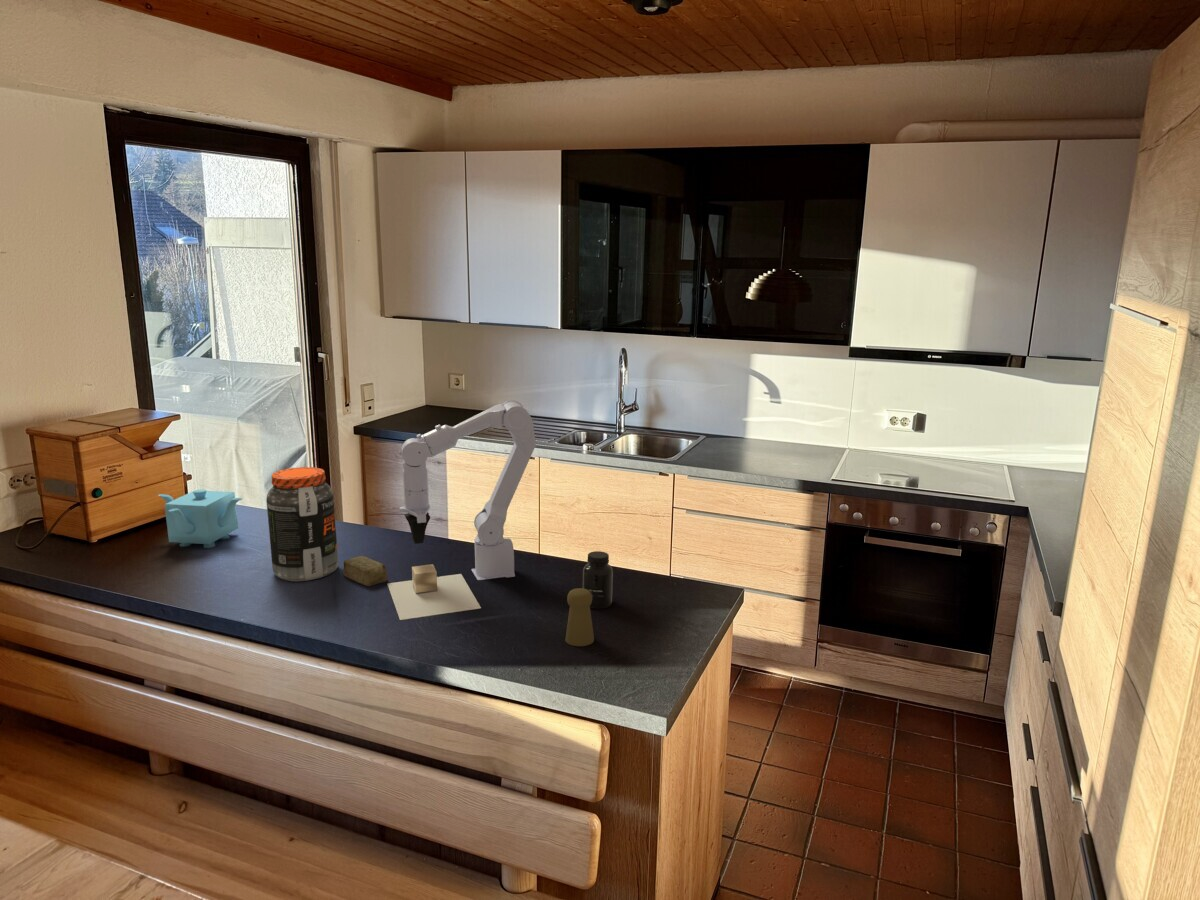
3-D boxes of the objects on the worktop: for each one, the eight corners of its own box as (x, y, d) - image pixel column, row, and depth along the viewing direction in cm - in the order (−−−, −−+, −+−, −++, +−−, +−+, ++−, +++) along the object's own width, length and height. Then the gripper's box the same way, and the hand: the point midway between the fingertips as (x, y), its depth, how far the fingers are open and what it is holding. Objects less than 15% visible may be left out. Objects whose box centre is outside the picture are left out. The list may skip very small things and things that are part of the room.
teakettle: (230, 526, 247) (225, 478, 244) (249, 543, 232) (244, 492, 229) (159, 539, 236) (153, 489, 232) (174, 558, 221) (167, 504, 218)
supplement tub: (340, 579, 208) (333, 477, 202) (272, 587, 203) (263, 483, 197) (337, 557, 222) (330, 462, 216) (273, 564, 217) (264, 467, 211)
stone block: (369, 590, 202) (367, 570, 200) (341, 578, 209) (340, 559, 208) (389, 583, 206) (388, 563, 205) (361, 572, 213) (360, 553, 212)
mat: (461, 576, 210) (461, 573, 210) (481, 610, 190) (481, 608, 190) (387, 585, 204) (387, 583, 204) (400, 622, 184) (399, 619, 184)
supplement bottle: (590, 611, 189) (591, 561, 187) (577, 601, 195) (577, 552, 193) (617, 606, 193) (618, 556, 190) (603, 595, 198) (604, 547, 196)
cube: (433, 583, 204) (432, 564, 202) (437, 591, 199) (436, 571, 198) (412, 586, 202) (411, 566, 201) (416, 594, 197) (415, 574, 196)
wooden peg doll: (564, 633, 179) (564, 585, 176) (593, 632, 179) (593, 584, 177) (566, 646, 173) (565, 596, 170) (595, 645, 173) (595, 595, 171)
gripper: (394, 482, 207) (397, 535, 210) (403, 498, 193) (406, 554, 197) (423, 480, 209) (426, 531, 212) (434, 495, 196) (436, 550, 199)
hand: (418, 542), depth 205 cm, fingers closed
